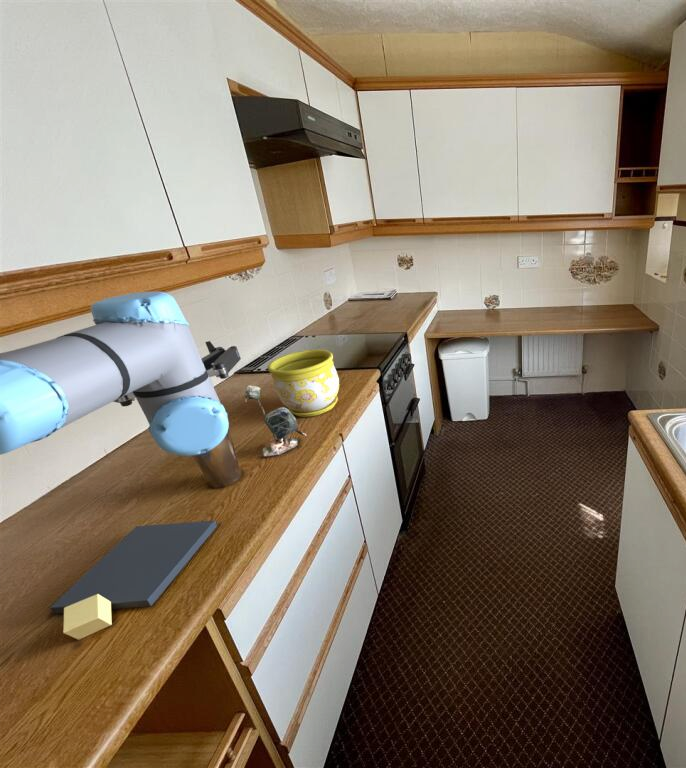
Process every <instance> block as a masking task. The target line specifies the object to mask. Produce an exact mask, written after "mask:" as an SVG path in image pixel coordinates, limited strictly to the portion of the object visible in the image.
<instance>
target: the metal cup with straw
mask: <svg viewBox="0 0 686 768" xmlns="http://www.w3.org/2000/svg"><path fill="white" fill-rule="evenodd" d="M191 458H192V459H193V461H194V462H195V464H196V465H197V466H198V468H199V469H200V470H201V472H202V474H203V475H204V477H205V478H206V480H207V482H208V483H209V484H210V486H211V488H215V489H220V488H225V487H228V486H230V485H232V484H235V483H236V482H237V481H238V480H240V479H241V477H242V475H243V474H242V470H241V468H240V464H239V461H238V457H237V454H236V449H235V445H234V442H233V438H232V435H231V432H230V428H229V427H228V431H227V434H226V436H225V437H224V439H223V440H222V441H221V443H220V444H218V445H217V446H216V447H215V448H213V449H211V450H210V451H207V452H205V453H202V454H199V455H194V456H191Z"/></svg>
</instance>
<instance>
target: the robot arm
mask: <svg viewBox="0 0 686 768" xmlns="http://www.w3.org/2000/svg"><path fill="white" fill-rule="evenodd" d="M90 312H91V315H92V318H93V319H92V321H93V323H94V325H91V326H88V327H85V328H82V329H78V330H75V331H71V332H68V333H64V334H62V335H60V336H58V337H55V338H52V339H49V340H45V341H42V342H38V343H35V344H30V345H28V346H24V347H20V348H15V349H13V350H9V351H4V352H1V353H0V456H1V455H5V454H8V453H11V452H12V451H15V450H17V449H19V448H21V447H23V446H26V445H28V444H31V443H35V442H39V441H42V440H44V439H46V438H48V437H50V436H51V435H52V434H54V433H56V432H57V431H58V430H60V429H63V428H64V427H66V426H68V425H70V424H72V423H74V422H76V421H77V420H80V419H82V418H84V417H86V416H87V415H89V414H92V413H93V412H95V411H97V410H99V409H101V408H103V407H105V406H107V405H109V404H111V403H119V404H120V406H121V407H129V406H131V405H133V402H135V401H136V402H137V403H138V405H139V407H140V409H141V411H142V412H143V415H144V416H145V418H146V420H147V422H148V425H149V426H148V432H149V433H150V435H151V437H152V438H153V440H154V442H155V444H156V446H158V447H159V448H160V449H161V450H162V451H164V452H166V453H168V454H171V455H174V456H179V457H192V456H194V455H199V454H202V453H205V452H207V451H210V450H211V449H213V448H215V447H216V446H217V445H218V444H220V443H221V441H222V440H223V439H224V437H225V436H226V434H227V431H228V428H229V425H230V424H229V416H228V413H227V411H226V409H225V406H224V405H223V404H222V403H221V400H220V398H219V397H218V394H217V391H216V389H215V387H214V385H213V382H212V380H211V378H212V377H216V378H220V379H221V380H224V379H227V378H229V377H230V375H229V373H230V372H231V371H232V370H233V368H235V366H236V365H238V363H239V362H240V361H241V355H240V353H239V350H238V348H237V346H236V345H232V346H230V347H228V348H227V349H225V348H224V347H222V346H217V347H216V346H214V345H213V343H212V342H211V340H209V341H205V342H204V344H205V346H206V348H207V350H208V352H209V353H208V354H207V355H205V356H203V357H201V354H200V352H199V349H198V347H197V345H196V341H195V339H194V337H193V334H192V332H191V330H190V328H189V327H190V324H189V322H188V321H187V320H186V318H185V315H184V314H183V312H182V309H181V308H180V307H179V305H178V303H177V301H176V299H175V297H173V295H171V294H169V293H168V292H163V291H142V292H134V293H133V292H132V293H127V294H126V293H125V294H119V295H115V296H111V297H107V298H102V299H100V300H99V301H95V302H94V303H92V304H91V306H90Z"/></svg>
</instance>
